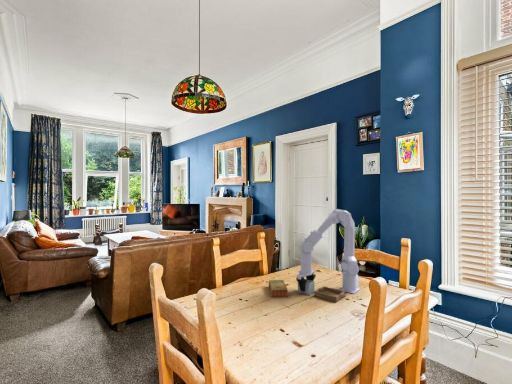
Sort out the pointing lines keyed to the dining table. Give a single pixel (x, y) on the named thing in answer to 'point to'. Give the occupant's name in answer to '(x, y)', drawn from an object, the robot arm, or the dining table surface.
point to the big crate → (329, 294)
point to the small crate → (308, 287)
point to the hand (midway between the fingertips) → (306, 289)
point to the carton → (278, 288)
